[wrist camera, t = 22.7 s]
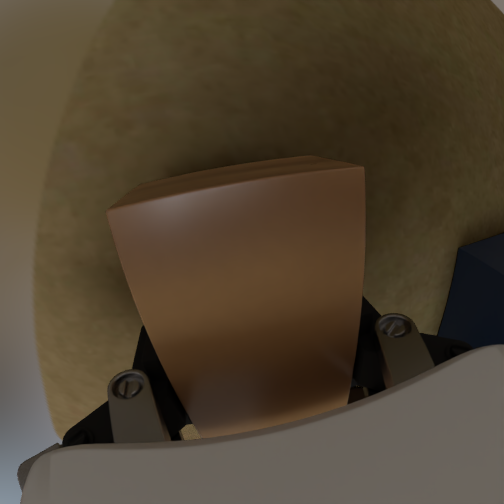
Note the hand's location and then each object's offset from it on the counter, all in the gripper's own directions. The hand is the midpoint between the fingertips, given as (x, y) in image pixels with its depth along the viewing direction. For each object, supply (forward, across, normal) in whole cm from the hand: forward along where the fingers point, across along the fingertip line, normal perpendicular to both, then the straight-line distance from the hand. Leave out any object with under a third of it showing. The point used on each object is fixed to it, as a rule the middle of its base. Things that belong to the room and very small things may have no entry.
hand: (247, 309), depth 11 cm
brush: (+1, 0, 0) cm, 1 cm away
